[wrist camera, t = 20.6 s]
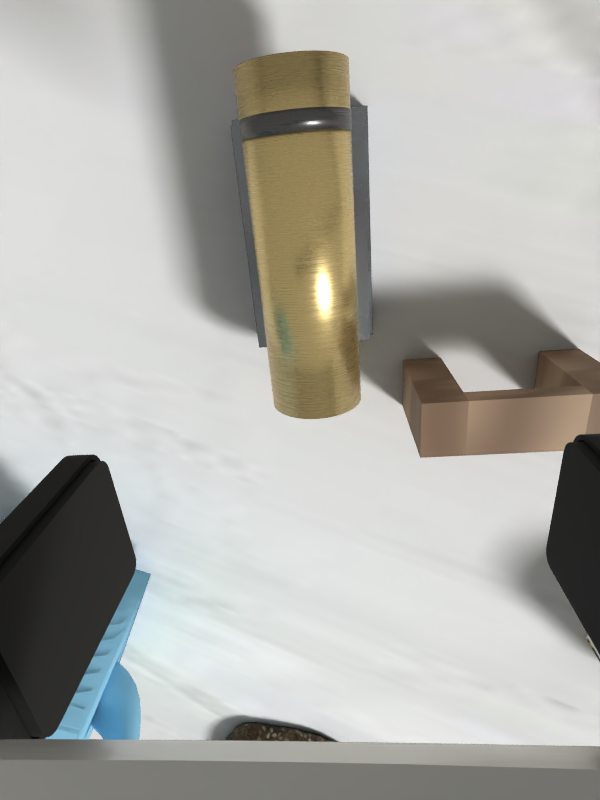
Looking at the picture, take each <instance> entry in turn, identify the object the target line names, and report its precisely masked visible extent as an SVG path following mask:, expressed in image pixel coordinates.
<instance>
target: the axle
mask: <svg viewBox="0 0 600 800" xmlns="http://www.w3.org/2000/svg"><path fill="white" fill-rule="evenodd" d="M233 75H234V83H235V91H236V99H237V107H238V115H239V130H240V138H241V142H242V148H243V156H244V164H245V172H246V180H247V188H248V196H249V205H250V213H251V221H252V229H253V237H254V245H255V253H256V261H257V269H258V278H259V286H260V294H261V302H262V310H263V318H264V326H265V334H266V343H267V351H268V359H269V367H270V375H271V383H272V391H273V399H274V405H275V408H276V409H277V410H278V411H279V412H281V413H283V414H285V415H288V416H291V417H295V418H303V419H320V418H328V417H333V416H337V415H340V414H343V413H346V412H348V411H350V410H351V409H353V408H354V407H356V406H357V405H358V404H359V402H360V400H361V385H360V358H359V330H358V302H357V275H356V247H355V219H354V191H353V164H352V136H351V131H352V114H351V108H350V81H349V58H348V57H347V56H346V55H344V54H341V53H337V52H331V51H295V52H286V53H278V54H272V55H267V56H263V57H258V58H255V59H251V60H248V61H246V62H243V63H241V64H239V65H237V66H236V67H235V68H234V69H233Z"/></svg>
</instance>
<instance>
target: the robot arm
mask: <svg viewBox="0 0 600 800" xmlns="http://www.w3.org/2000/svg"><path fill="white" fill-rule="evenodd" d="M546 555H547V560H548V564H549V566H550V568H551V570H552V572H553V574H554V575H555V577H556V579H557V581H558V582H559V584H560V586H561V588H562V589H563V591H564V593H565V595H566V596H567V598H568V600H569V602H570V604H571V605H572V607H573V609H574V611H575V612H576V614H577V616H578V618H579V619H580V621H581V623H582V625H583V626H584V628H585V630H586V632H587V633H588V635H589V637H590V639H591V641H592V642H593V644H594V646H595V648H596V649H597V651H598V653H599V655H600V434H579V435H578V436H576V437H575V439H574V441H573V442H569V443H567V444H566V446H565V449H564V453H563V459H562V464H561V470H560V475H559V481H558V486H557V492H556V497H555V503H554V509H553V514H552V520H551V525H550V531H549V536H548V542H547V548H546ZM135 568H136V558H135V554H134V550H133V547H132V544H131V540H130V537H129V534H128V530H127V527H126V524H125V520H124V517H123V514H122V511H121V507H120V504H119V501H118V497H117V494H116V491H115V487H114V484H113V481H112V477H111V474H110V471H109V468H108V465H107V464H106V462H104V461H100V459H99V458H98V457H97V456H96V455H73V456H66V457H65V458H63V459H62V460H61V461H60V462H59V463H58V464H57V465H56V466H55V467H54V469H53V470H52V471H51V472H50V473H49V474H48V475H47V476H46V477H45V478H44V479H43V480H42V481H41V482H40V483H39V484H38V485H37V486H36V487H35V488H34V489H33V491H32V492H31V493H30V494H29V495H28V496H27V497H26V498H25V499H24V500H23V501H22V502H21V503H20V504H19V505H18V506H17V507H16V508H15V509H14V510H13V511H12V513H11V514H10V515H9V516H8V517H7V518H6V519H5V520H4V521H3V522H2V523H1V524H0V800H600V747H599V746H546V745H494V744H441V743H377V742H306V741H225V740H102V739H45V738H46V737H50V736H52V735H53V734H54V733H55V732H56V730H57V728H58V727H59V725H60V723H61V721H62V719H63V717H64V715H65V713H66V711H67V709H68V707H69V705H70V703H71V701H72V699H73V697H74V695H75V693H76V690H77V688H78V686H79V684H80V682H81V680H82V678H83V676H84V674H85V672H86V670H87V668H88V666H89V664H90V662H91V660H92V658H93V656H94V654H95V652H96V650H97V648H98V646H99V644H100V642H101V640H102V638H103V636H104V634H105V632H106V630H107V628H108V626H109V624H110V622H111V620H112V618H113V616H114V614H115V612H116V610H117V608H118V606H119V604H120V602H121V600H122V598H123V596H124V594H125V592H126V590H127V588H128V586H129V583H130V581H131V579H132V577H133V575H134V573H135Z"/></svg>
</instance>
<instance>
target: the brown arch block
mask: <svg viewBox="0 0 600 800" xmlns="http://www.w3.org/2000/svg"><path fill="white" fill-rule="evenodd" d="M403 408H404V411H405V414H406V417H407V420H408V423H409V426H410V429H411V432H412V435H413V437H414V440H415V443H416V446H417V449H418V452H419V455H420V458H421V457H442V456H463V455H484V454H505V453H526V452H547V451H564V449H565V446H566V444H567V443H569V442H573V441H574V439H575V437H576V436H578V435H579V434H600V362H598V361H597V360H595V359H594V358H592V357H590V356H589V355H587V354H586V353H584V352H583V351H581V350H580V349H570V350H554V351H539V358H538V365H537V373H536V380H535V388H531V389H514V390H497V391H480V392H463V391H462V390H461V388H460V387H459V385H458V384H457V382H456V380H455V379H454V377H453V376H452V374H451V373H450V371H449V370H448V368H447V367H446V365H445V364H444V362H443V361H442V359H441V358H431V359H415V360H403Z"/></svg>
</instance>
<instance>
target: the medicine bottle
mask: <svg viewBox="0 0 600 800" xmlns="http://www.w3.org/2000/svg"><path fill="white" fill-rule="evenodd" d="M587 640H588V642H589V644H590V645H591V647H592V649H593V651H594V652H595V654H596V656H597V658H598V659H599V661H600V655H599V653H598V651H597V649H596V648H595V646H594V644H593V642H592V641H591V639H590V637H589V635H587Z"/></svg>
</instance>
